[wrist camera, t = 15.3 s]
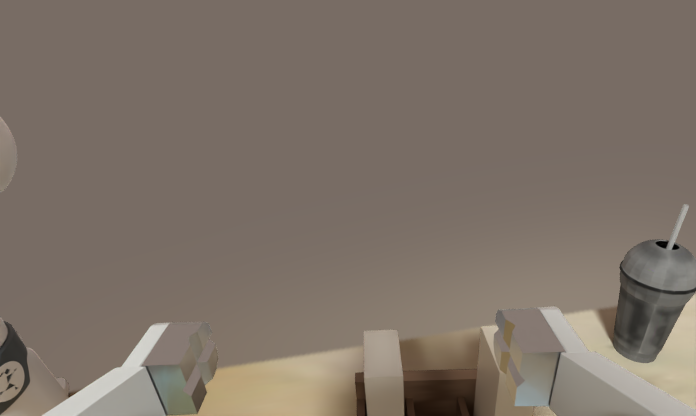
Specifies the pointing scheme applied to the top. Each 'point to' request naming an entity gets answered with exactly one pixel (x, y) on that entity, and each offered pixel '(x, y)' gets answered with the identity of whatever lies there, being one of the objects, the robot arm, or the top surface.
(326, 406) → the top surface
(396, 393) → the clay strip
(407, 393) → the wooden divided tray
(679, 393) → the top surface
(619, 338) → the beverage cup
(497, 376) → the clay strip
